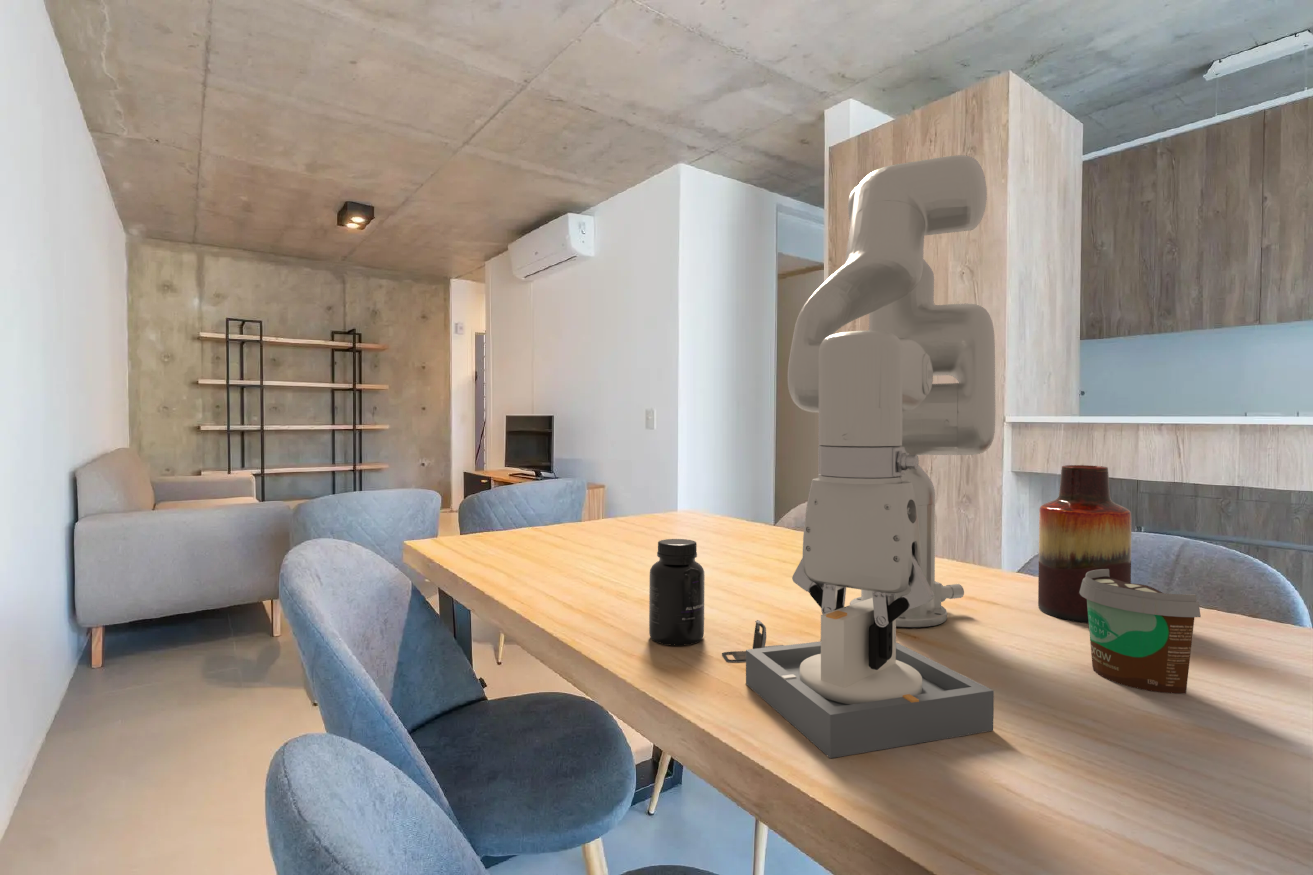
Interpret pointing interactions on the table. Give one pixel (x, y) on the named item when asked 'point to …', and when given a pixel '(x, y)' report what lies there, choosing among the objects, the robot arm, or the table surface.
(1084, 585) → the food container
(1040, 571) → the vase
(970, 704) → the dial plate
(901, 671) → the dial
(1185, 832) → the table surface
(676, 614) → the supplement bottle
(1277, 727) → the table surface
